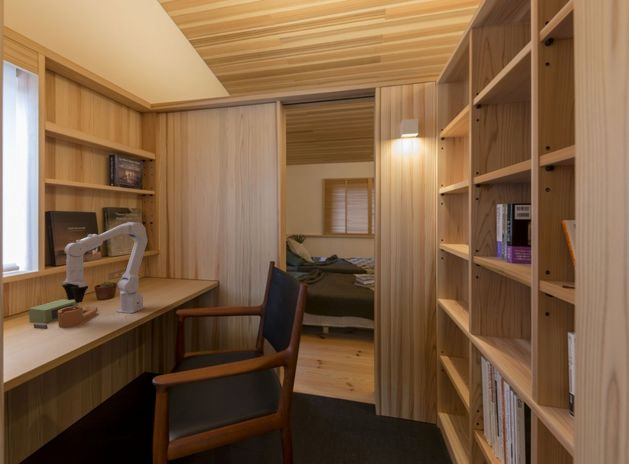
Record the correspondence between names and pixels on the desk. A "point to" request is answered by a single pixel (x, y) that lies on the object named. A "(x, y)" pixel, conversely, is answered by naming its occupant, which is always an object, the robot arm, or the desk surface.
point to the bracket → (74, 316)
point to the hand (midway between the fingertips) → (75, 301)
